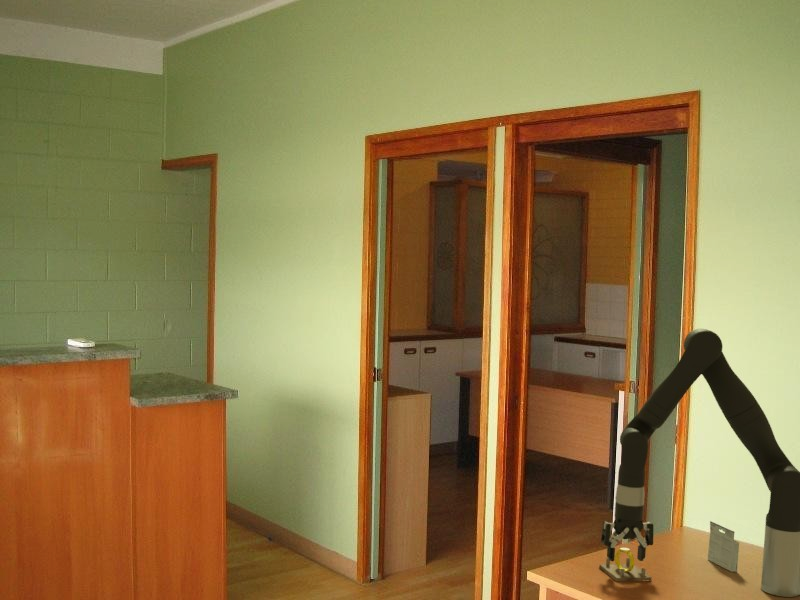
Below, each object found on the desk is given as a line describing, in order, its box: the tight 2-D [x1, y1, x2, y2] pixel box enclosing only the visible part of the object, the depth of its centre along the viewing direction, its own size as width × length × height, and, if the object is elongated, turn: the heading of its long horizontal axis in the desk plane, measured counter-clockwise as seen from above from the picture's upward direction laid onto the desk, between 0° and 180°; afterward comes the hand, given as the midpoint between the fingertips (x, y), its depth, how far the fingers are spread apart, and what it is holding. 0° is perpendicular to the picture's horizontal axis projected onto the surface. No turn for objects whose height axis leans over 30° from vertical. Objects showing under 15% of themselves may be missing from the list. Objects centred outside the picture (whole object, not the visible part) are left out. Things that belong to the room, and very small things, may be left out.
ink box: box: [707, 520, 740, 573], centre depth 266 cm, size 12×2×12 cm, turn 16°
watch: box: [614, 547, 635, 572], centre depth 253 cm, size 6×3×6 cm, turn 31°
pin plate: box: [598, 557, 653, 583], centre depth 253 cm, size 10×11×3 cm
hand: (625, 560), depth 253 cm, fingers open, 8 cm apart
